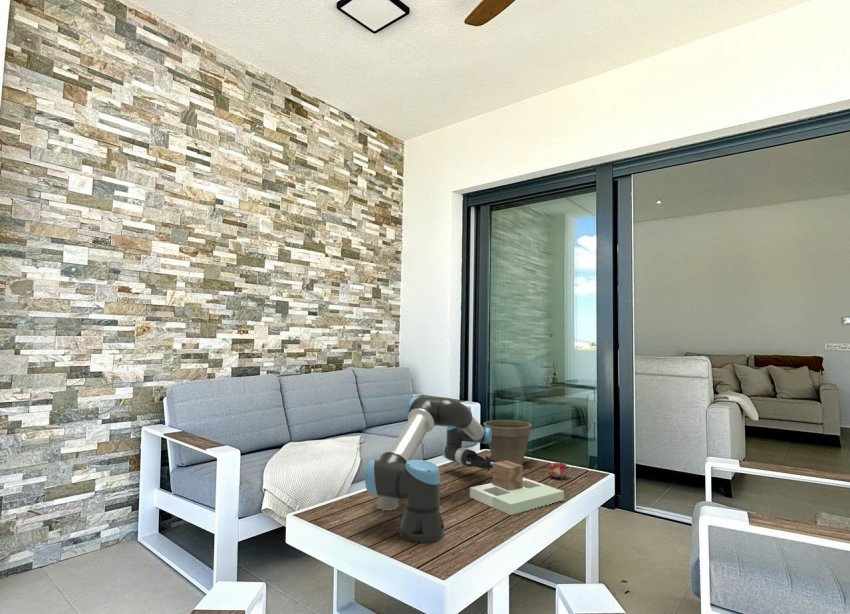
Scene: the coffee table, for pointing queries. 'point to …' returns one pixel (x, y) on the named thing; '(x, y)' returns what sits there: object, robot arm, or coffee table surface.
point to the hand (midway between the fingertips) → (501, 468)
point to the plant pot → (508, 440)
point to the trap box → (517, 496)
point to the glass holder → (387, 503)
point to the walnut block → (507, 475)
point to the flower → (558, 470)
